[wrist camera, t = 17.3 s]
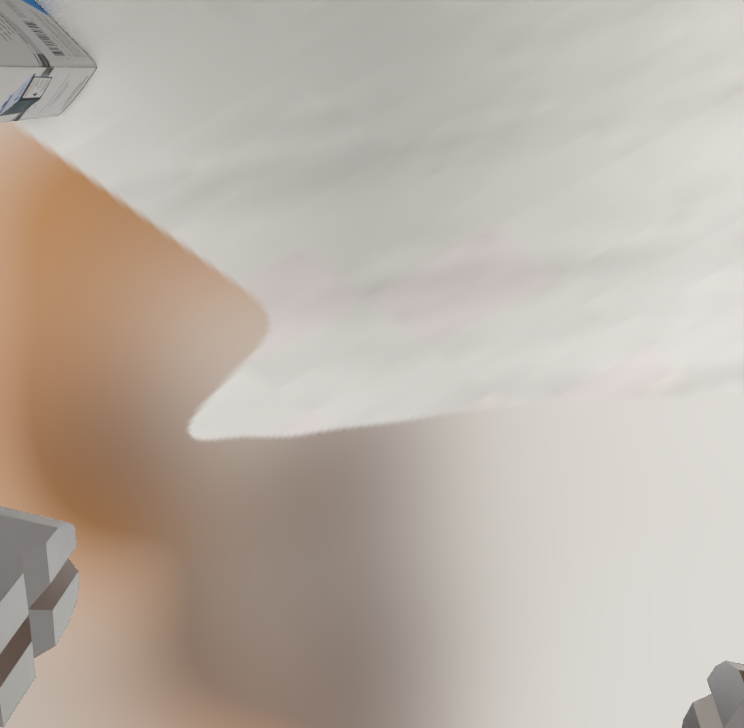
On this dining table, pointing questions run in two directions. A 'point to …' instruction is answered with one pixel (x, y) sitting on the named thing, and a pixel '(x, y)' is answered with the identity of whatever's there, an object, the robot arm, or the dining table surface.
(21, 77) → the ink box
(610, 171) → the dining table surface
